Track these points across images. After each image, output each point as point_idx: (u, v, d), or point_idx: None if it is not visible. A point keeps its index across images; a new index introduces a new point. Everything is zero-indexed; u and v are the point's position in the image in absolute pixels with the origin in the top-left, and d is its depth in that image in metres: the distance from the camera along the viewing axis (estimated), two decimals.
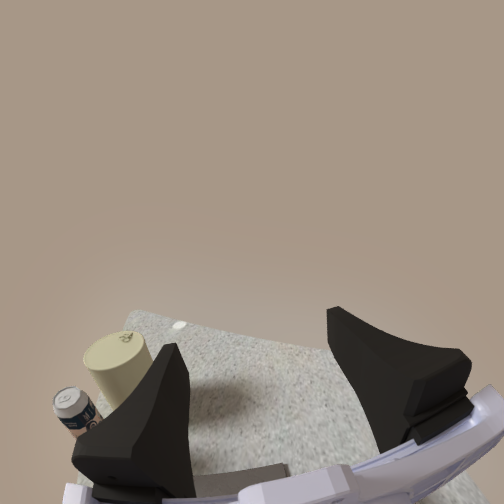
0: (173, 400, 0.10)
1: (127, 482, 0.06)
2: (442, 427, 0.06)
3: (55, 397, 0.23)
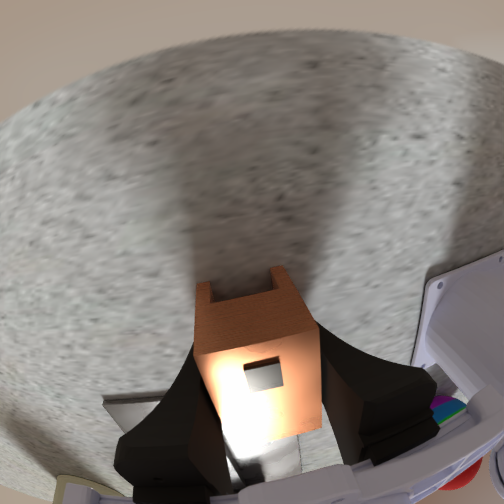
0: None
1: (175, 482, 0.06)
2: (401, 449, 0.06)
3: None
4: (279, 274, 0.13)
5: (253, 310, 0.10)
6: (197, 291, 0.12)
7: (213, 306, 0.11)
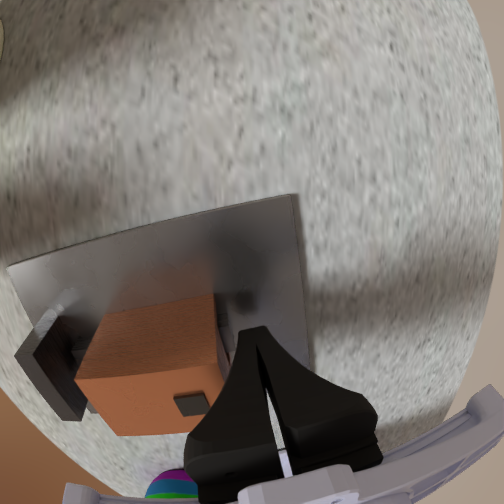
0: (263, 385, 0.10)
1: (249, 475, 0.06)
2: None
3: None
4: (230, 359, 0.15)
5: (227, 369, 0.12)
6: (213, 302, 0.13)
7: (218, 332, 0.12)
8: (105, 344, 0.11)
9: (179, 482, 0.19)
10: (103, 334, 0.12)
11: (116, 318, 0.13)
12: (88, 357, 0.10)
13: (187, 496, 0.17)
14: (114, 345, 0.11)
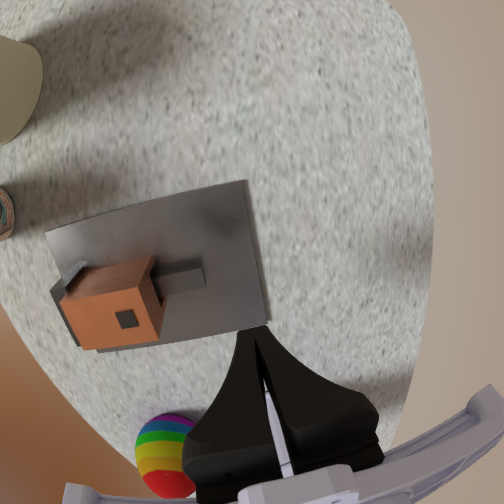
0: (261, 385, 0.10)
1: (247, 475, 0.06)
2: None
3: None
4: (164, 303, 0.21)
5: (153, 302, 0.19)
6: (150, 260, 0.20)
7: (149, 277, 0.19)
8: (81, 285, 0.18)
9: (166, 422, 0.25)
10: (81, 280, 0.18)
11: (91, 272, 0.20)
12: (70, 292, 0.17)
13: (171, 433, 0.24)
14: (86, 284, 0.18)
